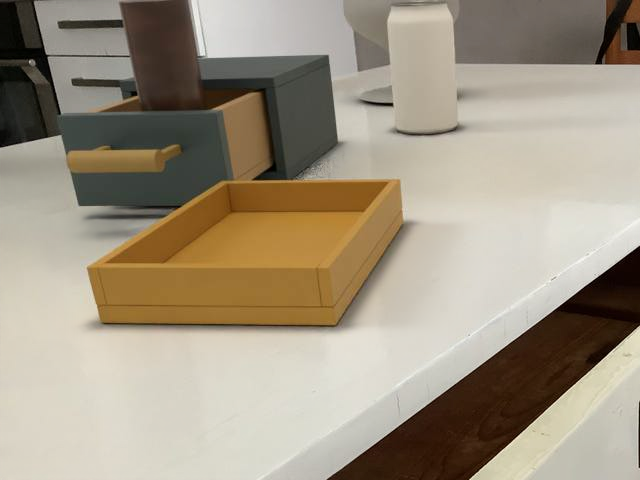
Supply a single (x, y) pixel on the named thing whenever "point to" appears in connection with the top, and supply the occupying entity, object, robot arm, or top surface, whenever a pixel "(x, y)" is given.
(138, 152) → the drawer
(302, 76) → the cabinet
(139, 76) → the brown cylinder
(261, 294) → the tray
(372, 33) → the chalice
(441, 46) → the can
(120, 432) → the top surface
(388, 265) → the top surface
